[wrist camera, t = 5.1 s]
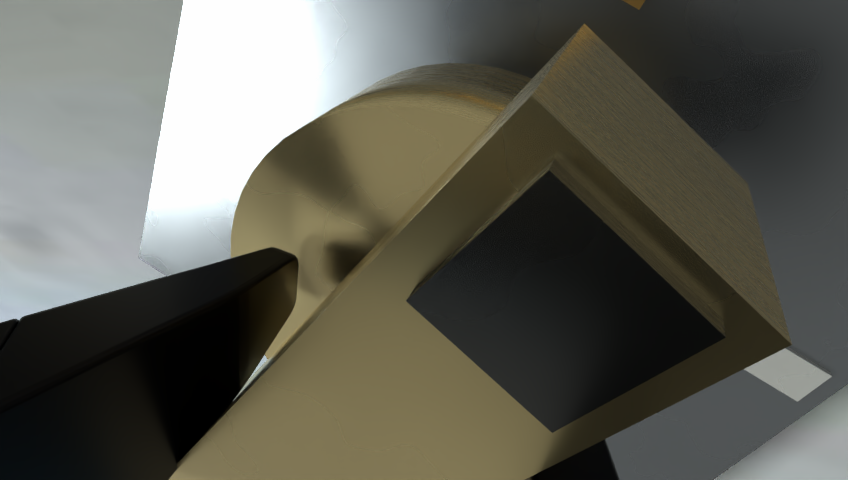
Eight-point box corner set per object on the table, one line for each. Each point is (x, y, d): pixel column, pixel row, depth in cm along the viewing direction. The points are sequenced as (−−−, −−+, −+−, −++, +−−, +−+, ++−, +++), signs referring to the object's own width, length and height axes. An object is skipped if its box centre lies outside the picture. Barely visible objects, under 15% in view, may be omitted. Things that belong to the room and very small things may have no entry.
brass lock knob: (443, 450, 13) (332, 717, 9) (229, 262, 13) (2, 447, 9) (828, 213, 8) (1004, 562, 4) (499, -113, 8) (278, -134, 3)
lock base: (183, 228, 19) (84, 294, 16) (340, -455, 10) (182, -628, 7) (611, 497, 18) (597, 627, 15) (1214, 15, 9) (1515, 78, 6)
